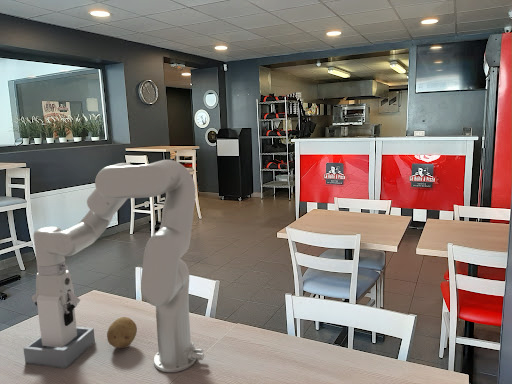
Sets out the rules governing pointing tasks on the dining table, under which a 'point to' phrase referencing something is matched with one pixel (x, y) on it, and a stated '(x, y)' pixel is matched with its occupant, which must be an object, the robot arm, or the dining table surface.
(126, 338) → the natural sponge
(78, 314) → the dining table surface
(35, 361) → the box
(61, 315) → the milk carton
